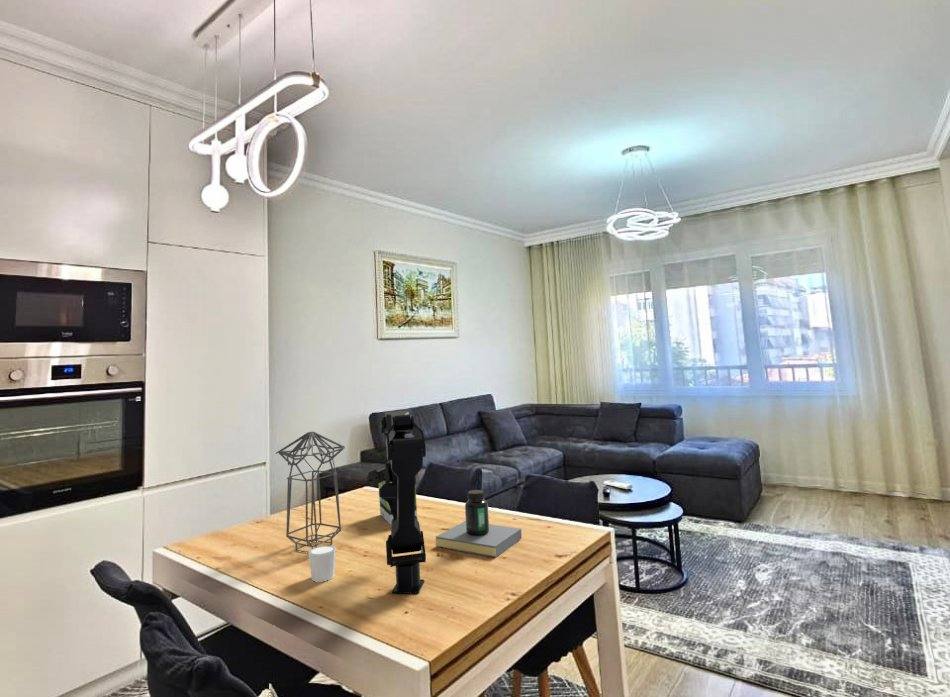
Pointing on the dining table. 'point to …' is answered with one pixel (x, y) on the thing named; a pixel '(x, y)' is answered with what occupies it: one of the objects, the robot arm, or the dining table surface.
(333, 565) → the white cylinder
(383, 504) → the tea box
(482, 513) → the supplement bottle
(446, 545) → the gray hardcover book
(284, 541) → the dining table surface
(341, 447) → the geometric lantern
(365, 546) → the dining table surface
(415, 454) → the robot arm
